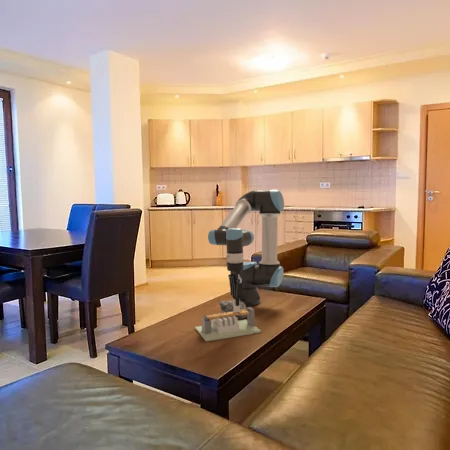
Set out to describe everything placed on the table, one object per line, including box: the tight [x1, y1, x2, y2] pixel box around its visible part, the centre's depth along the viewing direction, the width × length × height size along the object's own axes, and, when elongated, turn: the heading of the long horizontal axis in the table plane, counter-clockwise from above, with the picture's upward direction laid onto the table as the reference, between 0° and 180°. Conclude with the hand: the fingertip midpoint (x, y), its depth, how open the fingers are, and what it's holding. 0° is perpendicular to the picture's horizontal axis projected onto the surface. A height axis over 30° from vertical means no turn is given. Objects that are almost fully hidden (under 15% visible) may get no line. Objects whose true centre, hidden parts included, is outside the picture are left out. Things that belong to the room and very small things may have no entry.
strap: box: [203, 309, 249, 321], centre depth 178 cm, size 21×5×1 cm, turn 110°
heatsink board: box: [194, 306, 262, 342], centre depth 179 cm, size 17×26×9 cm, turn 110°
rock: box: [218, 300, 247, 320], centre depth 198 cm, size 16×8×10 cm, turn 60°
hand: (236, 311), depth 180 cm, fingers closed
